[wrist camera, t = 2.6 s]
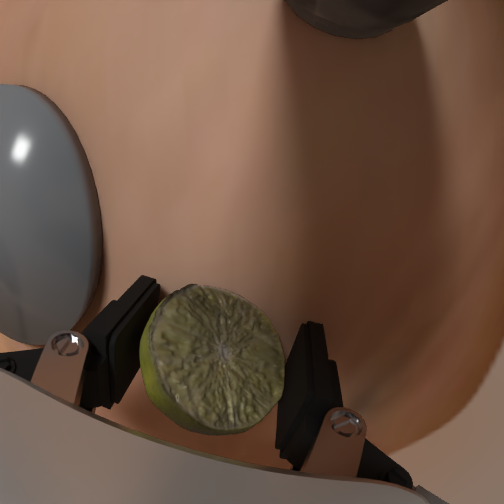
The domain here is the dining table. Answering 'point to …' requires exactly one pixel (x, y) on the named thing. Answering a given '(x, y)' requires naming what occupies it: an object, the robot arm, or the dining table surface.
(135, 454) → the robot arm
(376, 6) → the beverage cup
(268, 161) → the dining table surface
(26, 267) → the slate plate
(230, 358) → the lime
